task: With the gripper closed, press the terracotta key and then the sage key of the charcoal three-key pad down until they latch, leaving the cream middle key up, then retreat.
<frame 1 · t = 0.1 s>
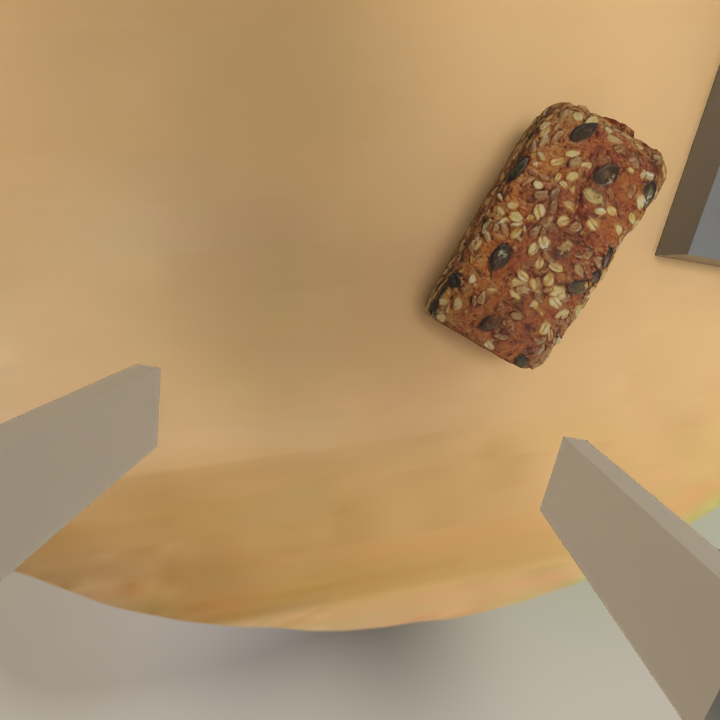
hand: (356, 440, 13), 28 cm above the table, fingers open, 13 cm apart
bread: (511, 247, 38), on the table
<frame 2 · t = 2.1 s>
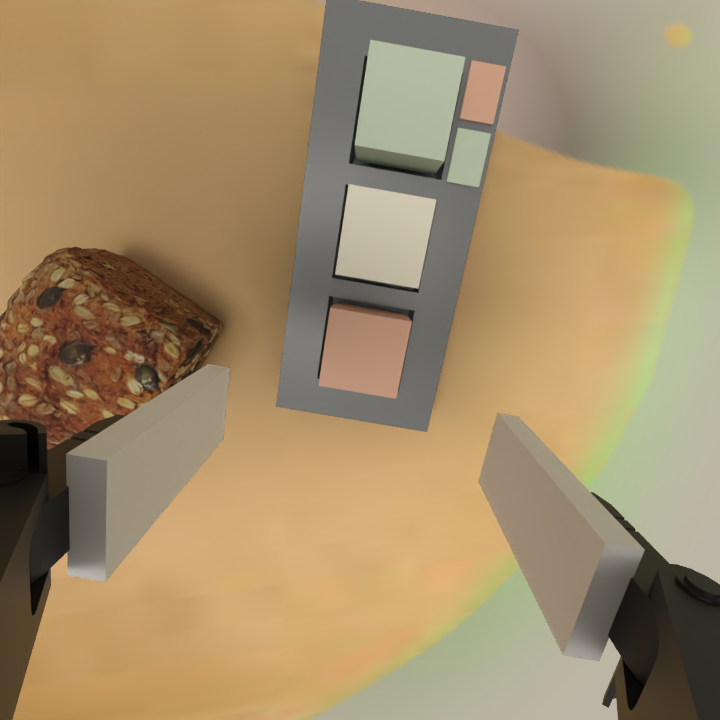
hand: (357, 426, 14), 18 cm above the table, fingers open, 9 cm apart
bread: (125, 376, 33), on the table
key sage: (405, 114, 23), point 5 cm above the table, slide at 0.0 cm
key terracotta: (364, 348, 26), point 5 cm above the table, slide at 0.0 cm
key cream: (383, 239, 24), point 5 cm above the table, slide at 0.0 cm
keypad board: (381, 242, 29), on the table
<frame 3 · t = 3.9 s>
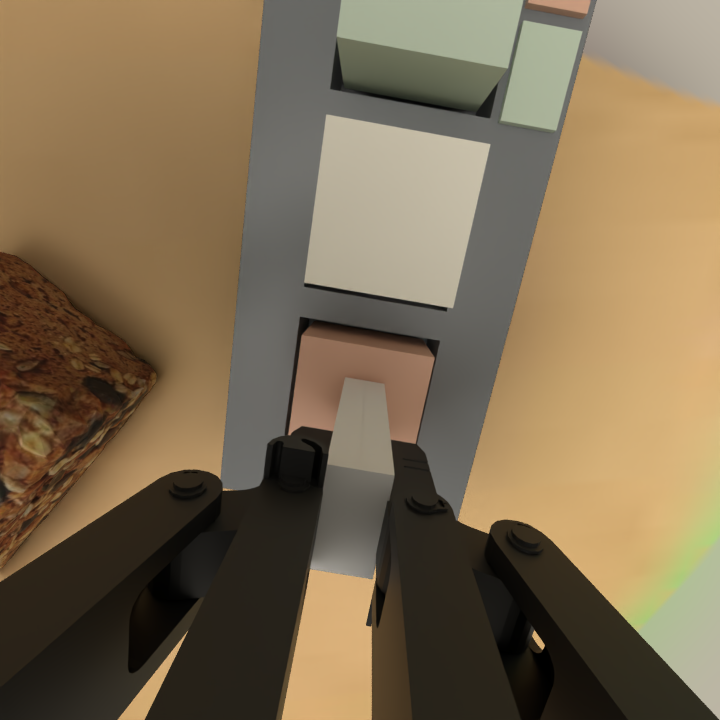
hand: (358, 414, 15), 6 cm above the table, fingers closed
bread: (11, 426, 22), on the table
key terracotta: (358, 393, 17), point 4 cm above the table, slide at 1.1 cm, touching gripper
key cream: (390, 221, 14), point 5 cm above the table, slide at 0.0 cm
keypad board: (385, 231, 19), on the table
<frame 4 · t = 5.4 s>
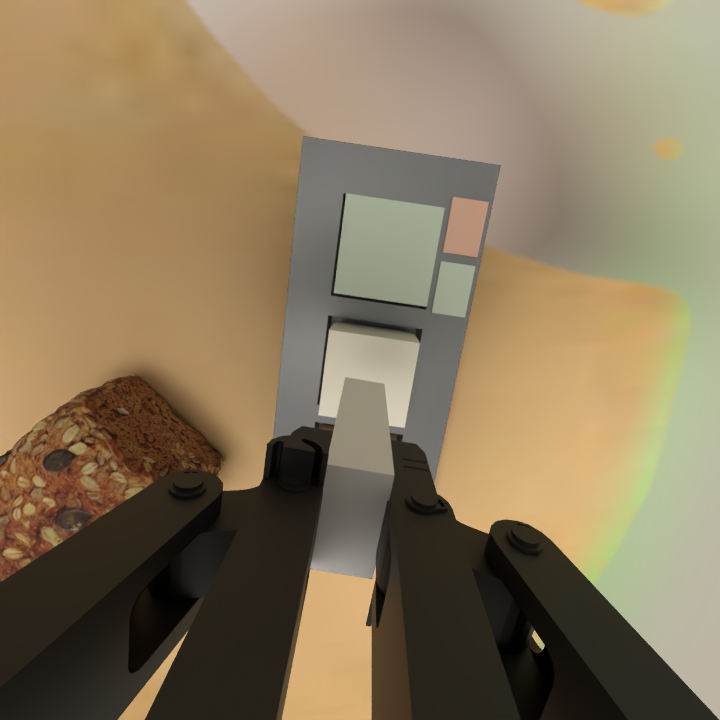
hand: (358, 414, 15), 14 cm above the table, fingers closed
bread: (114, 482, 32), on the table
key sage: (386, 252, 22), point 5 cm above the table, slide at 0.0 cm
key terracotta: (353, 462, 27), point 3 cm above the table, slide at 1.7 cm
key cream: (368, 371, 24), point 5 cm above the table, slide at 0.0 cm
keypad board: (369, 353, 29), on the table
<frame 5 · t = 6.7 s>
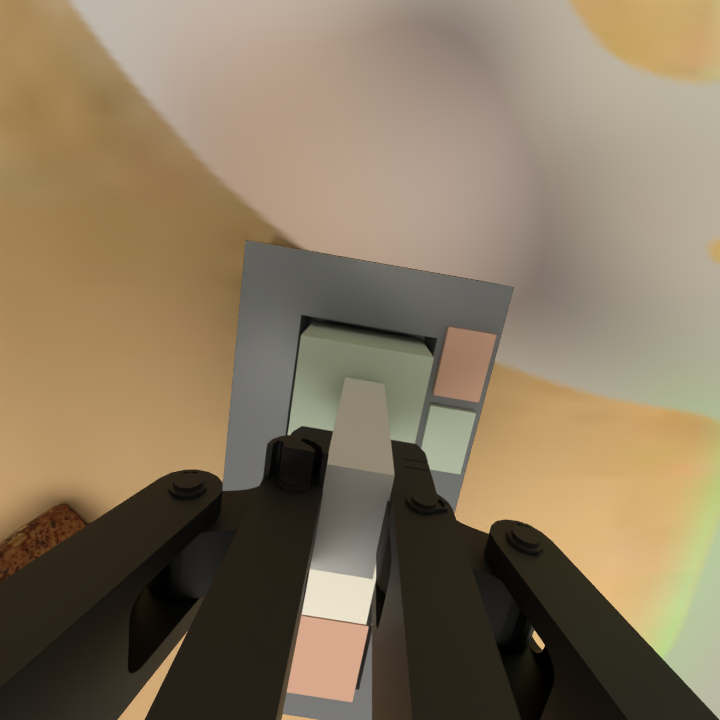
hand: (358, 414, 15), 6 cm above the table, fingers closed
bread: (28, 613, 26), on the table
key sage: (357, 393, 17), point 4 cm above the table, slide at 0.6 cm, touching gripper
key terracotta: (315, 626, 22), point 3 cm above the table, slide at 1.7 cm
key cream: (332, 540, 18), point 5 cm above the table, slide at 0.0 cm
keypad board: (339, 481, 23), on the table
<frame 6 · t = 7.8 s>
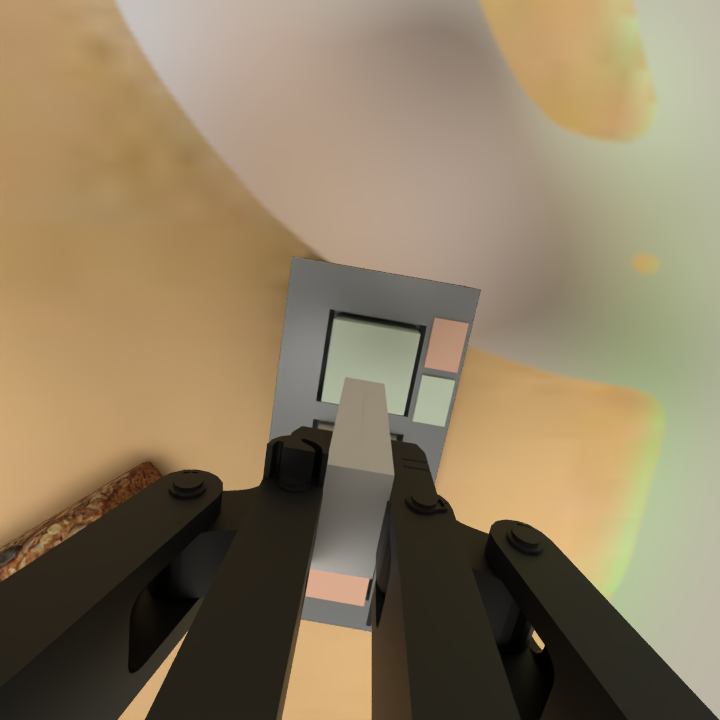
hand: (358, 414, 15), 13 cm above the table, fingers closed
bread: (104, 549, 33), on the table
key sage: (370, 361, 25), point 3 cm above the table, slide at 1.7 cm
key terracotta: (335, 550, 28), point 3 cm above the table, slide at 1.7 cm
key cream: (350, 475, 25), point 5 cm above the table, slide at 0.0 cm
keypad board: (354, 441, 29), on the table
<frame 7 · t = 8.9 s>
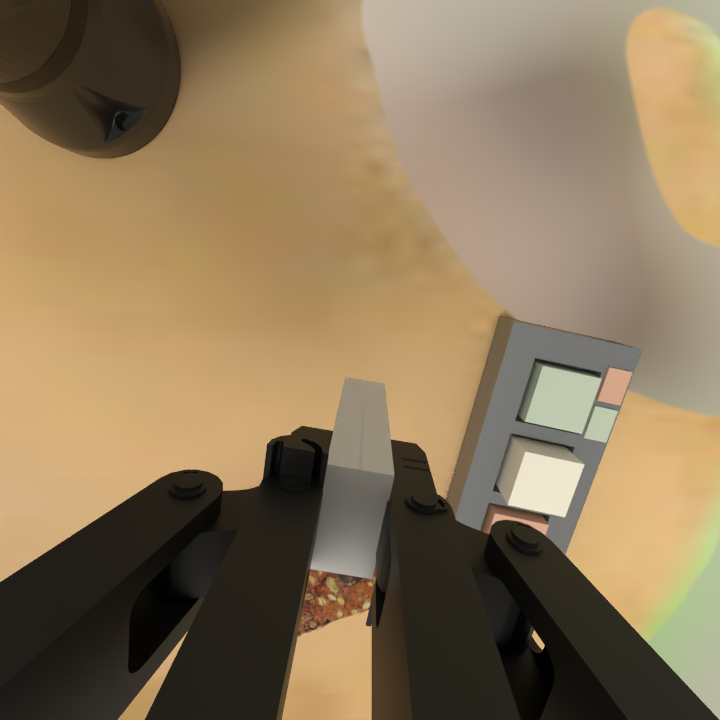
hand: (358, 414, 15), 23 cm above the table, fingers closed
bread: (308, 525, 43), on the table
key sage: (553, 394, 35), point 3 cm above the table, slide at 1.7 cm
key terracotta: (507, 530, 38), point 3 cm above the table, slide at 1.7 cm
key cream: (537, 474, 35), point 5 cm above the table, slide at 0.0 cm
keypad board: (517, 450, 40), on the table
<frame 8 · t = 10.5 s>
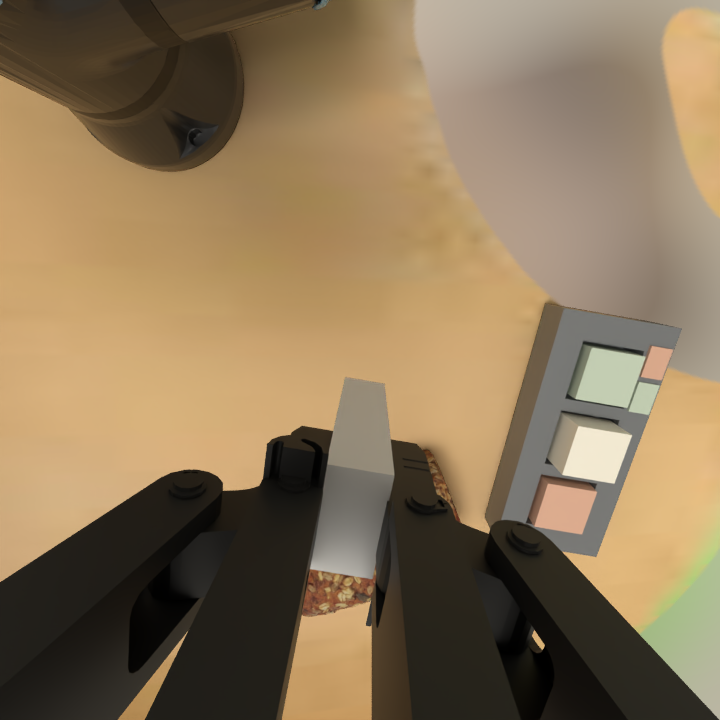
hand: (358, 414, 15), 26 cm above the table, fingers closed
bread: (369, 503, 46), on the table
key sage: (599, 373, 38), point 3 cm above the table, slide at 1.7 cm
key terracotta: (557, 499, 42), point 3 cm above the table, slide at 1.7 cm
key cream: (586, 446, 38), point 5 cm above the table, slide at 0.0 cm
keypad board: (562, 425, 43), on the table
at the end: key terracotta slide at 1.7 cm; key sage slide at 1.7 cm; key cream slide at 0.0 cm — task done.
